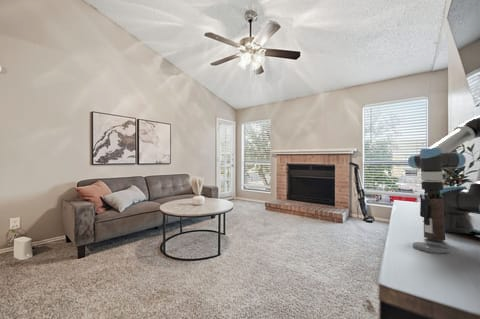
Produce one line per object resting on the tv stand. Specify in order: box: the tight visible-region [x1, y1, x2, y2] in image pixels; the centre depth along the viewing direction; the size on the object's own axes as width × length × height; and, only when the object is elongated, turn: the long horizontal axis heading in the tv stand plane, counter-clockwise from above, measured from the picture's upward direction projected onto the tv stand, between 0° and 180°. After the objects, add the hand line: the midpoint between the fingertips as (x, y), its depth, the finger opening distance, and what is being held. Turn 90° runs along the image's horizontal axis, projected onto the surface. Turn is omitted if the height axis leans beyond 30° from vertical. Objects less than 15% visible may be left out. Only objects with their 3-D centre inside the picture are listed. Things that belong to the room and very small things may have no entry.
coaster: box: [412, 241, 449, 255], centre depth 89 cm, size 11×11×1 cm
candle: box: [423, 197, 446, 242], centre depth 100 cm, size 8×7×20 cm
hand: (434, 231), depth 100 cm, fingers closed on candle, 7 cm apart
